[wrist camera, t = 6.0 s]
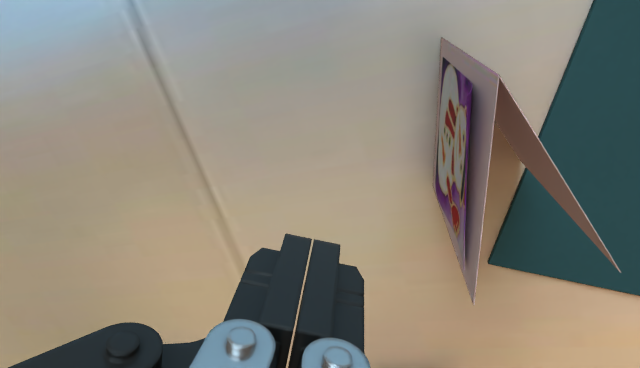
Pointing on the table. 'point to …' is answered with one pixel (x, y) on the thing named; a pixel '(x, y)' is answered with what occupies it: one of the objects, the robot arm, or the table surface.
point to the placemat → (587, 163)
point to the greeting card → (484, 154)
